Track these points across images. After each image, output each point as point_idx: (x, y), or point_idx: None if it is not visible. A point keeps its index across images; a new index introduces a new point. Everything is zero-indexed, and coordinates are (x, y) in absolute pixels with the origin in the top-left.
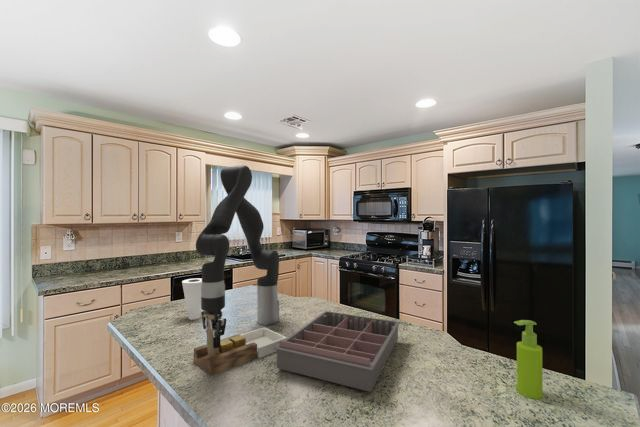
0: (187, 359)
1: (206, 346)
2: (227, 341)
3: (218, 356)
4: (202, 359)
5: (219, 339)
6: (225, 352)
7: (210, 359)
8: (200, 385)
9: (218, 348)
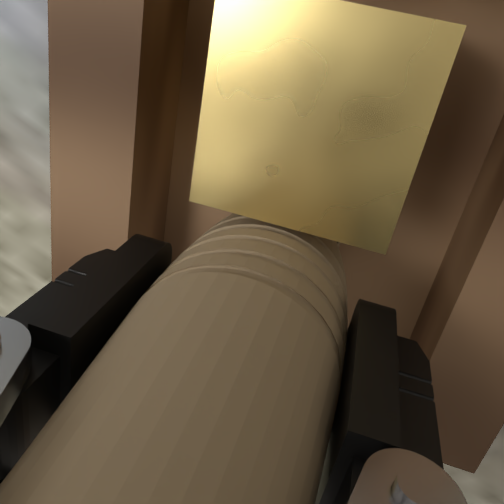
0: (50, 262)
1: (105, 237)
2: (325, 64)
3: (482, 370)
4: None
5: (432, 446)
6: (489, 249)
7: (444, 450)
8: (490, 480)
9: (341, 267)
